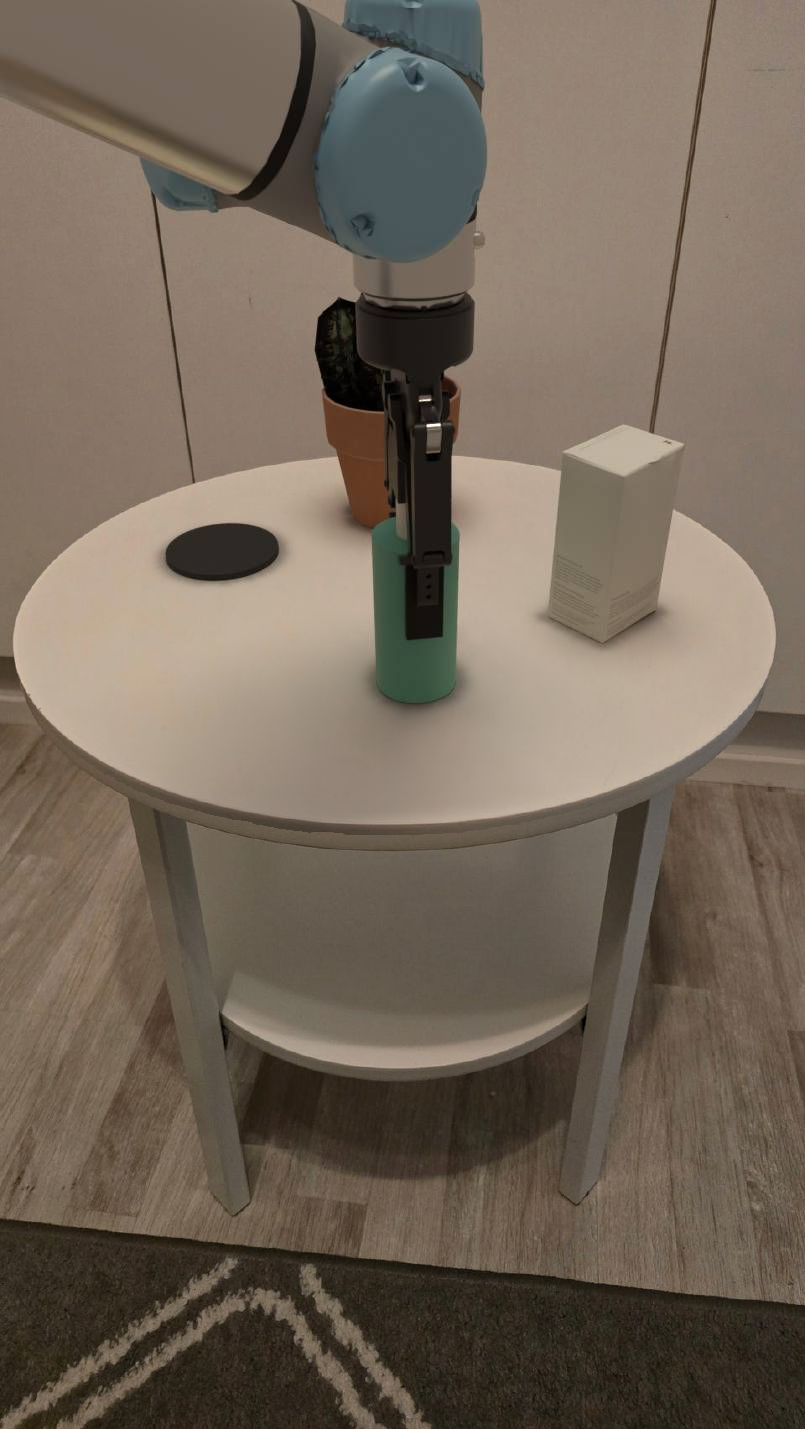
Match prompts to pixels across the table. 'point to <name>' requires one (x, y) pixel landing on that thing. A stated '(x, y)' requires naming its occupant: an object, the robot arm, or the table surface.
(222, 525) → the black round coaster
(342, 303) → the potted plant
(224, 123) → the robot arm
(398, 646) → the spray bottle
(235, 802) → the table surface
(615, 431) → the cosmetic box
